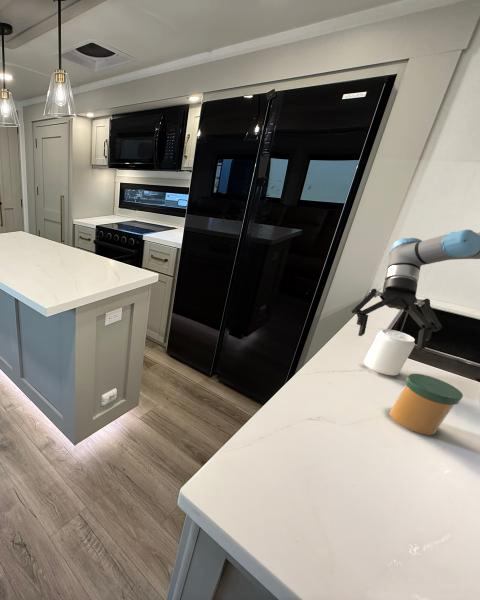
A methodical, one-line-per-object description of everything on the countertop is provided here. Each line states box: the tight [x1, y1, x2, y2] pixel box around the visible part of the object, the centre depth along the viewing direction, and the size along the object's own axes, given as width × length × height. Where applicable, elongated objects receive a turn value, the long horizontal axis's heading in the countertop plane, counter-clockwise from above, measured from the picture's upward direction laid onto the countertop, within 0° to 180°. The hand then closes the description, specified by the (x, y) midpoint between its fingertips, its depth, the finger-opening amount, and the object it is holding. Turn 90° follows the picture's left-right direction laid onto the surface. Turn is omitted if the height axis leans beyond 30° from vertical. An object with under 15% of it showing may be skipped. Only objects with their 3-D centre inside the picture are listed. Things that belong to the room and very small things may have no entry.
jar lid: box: [404, 373, 464, 406], centre depth 71 cm, size 9×9×2 cm
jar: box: [389, 384, 455, 436], centre depth 73 cm, size 8×8×10 cm
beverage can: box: [363, 328, 416, 376], centre depth 93 cm, size 8×8×12 cm
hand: (389, 341), depth 94 cm, fingers open, 13 cm apart
